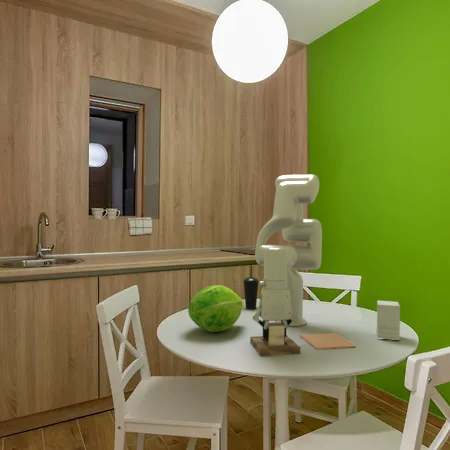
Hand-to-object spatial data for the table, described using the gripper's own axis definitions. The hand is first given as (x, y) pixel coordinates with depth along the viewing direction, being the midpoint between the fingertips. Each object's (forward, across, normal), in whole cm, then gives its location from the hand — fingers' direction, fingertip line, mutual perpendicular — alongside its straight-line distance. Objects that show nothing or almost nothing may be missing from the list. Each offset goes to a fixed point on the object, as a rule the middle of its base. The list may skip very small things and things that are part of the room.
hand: (274, 339), depth 127 cm
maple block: (+3, 0, 0) cm, 3 cm away
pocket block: (+3, 0, 0) cm, 3 cm away
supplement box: (+3, +44, +4) cm, 44 cm away
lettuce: (+3, -15, +22) cm, 27 cm away
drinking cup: (+3, +6, +54) cm, 54 cm away
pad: (+3, +20, +3) cm, 20 cm away
